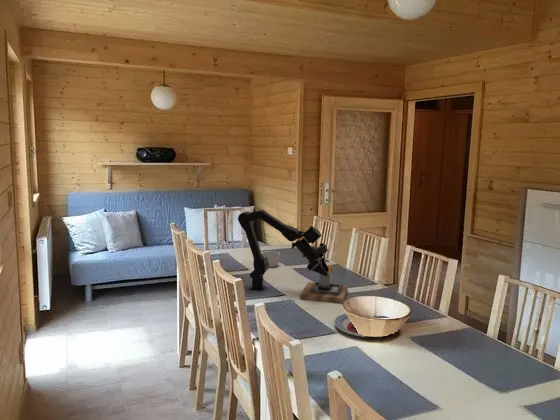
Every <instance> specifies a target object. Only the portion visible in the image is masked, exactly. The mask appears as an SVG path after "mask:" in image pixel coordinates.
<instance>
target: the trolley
mask: <svg viewBox="0 0 560 420" xmlns="http://www.w3.org/2000/svg"><path fill="white" fill-rule="evenodd" d="M328 268H329V271H326V273H327V276H324V275H322V274H319V278H318V279H319V280H318V282H319V285H318V290H323V289H324V290H325V291H330V290H331V287H332V284H333V283H332V276H333V263H330V264H329V266H328Z"/></svg>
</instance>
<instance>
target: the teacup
mask: <svg viewBox="0 0 560 420" xmlns="http://www.w3.org/2000/svg"><path fill="white" fill-rule="evenodd" d="M261 253H262V255H263V257H264V258H265V257H267V259H268V263H269V268H275V267H277V266H278V265H279V264H280V257H281V253H280V252H278V251H276V250H275V251H274V250H266V251H261Z"/></svg>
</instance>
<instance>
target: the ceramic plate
mask: <svg viewBox="0 0 560 420" xmlns="http://www.w3.org/2000/svg"><path fill="white" fill-rule="evenodd" d="M368 317H369V316H368ZM373 317H376V318H390V316H389V317H388V316H386V315H383V316H373ZM334 325H335V327H336V328H338V329H339V330H340V331H342V332H343V333H346V334H349V335H352V336H355V337H363V338H366V337H365V336H363V335H361V334H358V332H357V330H356V328H355V327H354V325H353V324H352V322H351V321H350V319H349V318H348V316H347V315H346V313H343V314H340V315H338V316H337V317H335V319H334Z"/></svg>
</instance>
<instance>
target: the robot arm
mask: <svg viewBox="0 0 560 420" xmlns="http://www.w3.org/2000/svg"><path fill="white" fill-rule="evenodd" d="M255 220H261V221H263V222H265V223H266V224H268V225H269V226H271V227H272V228H273V229H275V230H277V231H279V233H281V235H282V236H283V237H284V238H285V239H286V240H287V241H289V242H291V249H292V250H293V249H294V248H296V249H297V250H298V251H299V252H300V253H301V254H302V257H303V258H306V260H307V262H308V264H307V265H306V269H307V270H308V271H310V272H311V271H313V272H314V273H317V274H319V275H320V274H322V275H324V276H327V273H326V271H329V266H328V265H327V262H326V256H325V255H326V253H328V251H329V249H328V245H326V244H327V243H326V244H325V243H324V242H320V243H319V246H318V247H315V246H312V245H311V244H315V243H316V242H317V241H318V239H320V238H321V237H322V233H321V232H320V230H318V229H317V228H316V227H314V226H313V225H311V226H309V228H308V229H307V230H305V231H303V230H302V231H301V230H299V229H298V228H297V227H294V226H292V225H288V224H285V223H284V222H283V221H281V220H279V219H278V218H276V217H275V216H273V215H271V214H270V213H269V212H267V211H266V210H264V209H260V210H255V211H249V210H246V211H243V212H242V213H239V215H238V216H237V222H238V223H239V225H240V226H241V228H242V230H243V231H244V232H245V235H246V238H247V242H248V245H249V248H250V251H251V254H252V259H253V270H252V271H251V272H250V273H249V276H250V279H251V286H250V287H249V290H254V289H255V290H256V291H263V289H265V288H266V285H264V275H265V273H266V272H267V271H269V269H270V267H269V263H268V259H267V257H265V258H264V257H263V255H262V250H261V247H260V244H259V241H258V237H257V234H256V230H255V229H254V225H255V224H254V223H255V222H254V221H255ZM301 238H302V239H301Z"/></svg>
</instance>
